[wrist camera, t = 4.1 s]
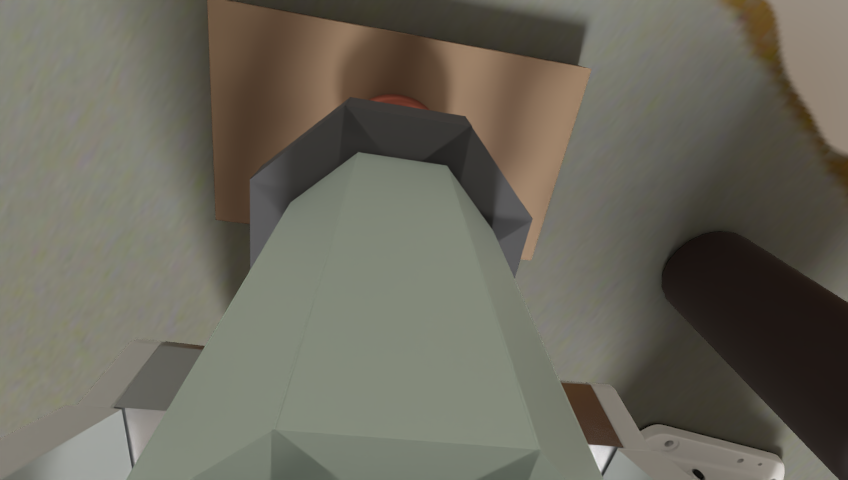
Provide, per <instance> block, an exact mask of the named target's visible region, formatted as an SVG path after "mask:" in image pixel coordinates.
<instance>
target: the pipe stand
mask: <svg viewBox="0 0 848 480" xmlns="http://www.w3.org/2000/svg"><path fill="white" fill-rule="evenodd" d="M207 7H208V33H209V59H210V84H211V110H212V136H213V162H214V187H215V213H216V220H222V221H229V222H237V223H245V224H250V178H251V177H252V176H253V175H254V174H255V173H256V172H257V171H258V170H259V169H260V168H261V166H262V165H263V164H265V163H266V162H268V161H269V160H270V159H272V158H273V157H274V156H275V155H277V154H278V153H279V152H281V151H282V150H283V149H284V148H286V147H287V146H288V145H289V144H291V143H292V142H293V141H295V140H296V139H297V138H298V137H300V136H301V135H302V134H304V133H305V132H306V131H307V130H309V129H310V128H311V127H313V126H314V125H315V124H316V123H318V122H319V121H320V120H322V119H323V118H324V117H325V116H327V115H328V114H329V113H331V112H332V111H333V110H334V109H336V108H337V107H338V106H340V105H341V104H342V103H343V102H345V101H346V100H347V99H349V97H353V98H359V99H365V100H371V101H377V102H383V103H389V104H395V105H401V106H407V107H413V108H419V109H425V110H431V111H437V112H443V113H449V114H455V115H461V116H466V118H467V119H468V121H469V122H470V124H471V125H472V128H473V129H474V131H475V132H476V134H477V135H478V137H479V138H480V140H481V141H482V143H483V144H484V146H485V147H486V149H487V150H488V152H489V154H490V155H491V157H492V158H493V160H494V161H495V163H496V164H497V166H498V167H499V169H500V170H501V172H502V173H503V175H504V176H505V178H506V180H507V181H508V183H509V184H510V186H511V187H512V189H513V190H514V192H515V193H516V195H517V196H518V198H519V199H520V201H521V202H522V204H523V205H524V207H525V208H526V210H527V211H528V212H529V214H530V215H531V217H532V218H533V220H532V223H531V226H530V229H529V232H528V236H527V239H526V242H525V246H524V249H523V252H522V256H521V259H524V260H531V259H532V256H533V253H534V250H535V247H536V243H537V240H538V237H539V234H540V231H541V228H542V224H543V221H544V218H545V215H546V212H547V209H548V205H549V202H550V199H551V196H552V193H553V190H554V186H555V183H556V180H557V177H558V174H559V171H560V168H561V164H562V161H563V158H564V155H565V152H566V149H567V145H568V142H569V139H570V136H571V133H572V130H573V126H574V123H575V120H576V117H577V114H578V111H579V107H580V104H581V101H582V98H583V95H584V92H585V88H586V85H587V82H588V79H589V76H590V73H591V69H589V68H586V67H582V66H578V65H572V64H567V63H562V62H556V61H551V60H546V59H540V58H535V57H530V56H524V55H519V54H514V53H508V52H503V51H498V50H492V49H487V48H481V47H476V46H471V45H465V44H460V43H455V42H449V41H444V40H439V39H433V38H428V37H423V36H417V35H412V34H407V33H401V32H396V31H391V30H385V29H380V28H374V27H369V26H364V25H358V24H353V23H348V22H342V21H337V20H332V19H326V18H321V17H316V16H310V15H305V14H300V13H294V12H289V11H284V10H278V9H273V8H267V7H262V6H257V5H251V4H246V3H241V2H235V1H230V0H207Z"/></svg>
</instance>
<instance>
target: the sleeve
mask: <svg viewBox="0 0 848 480" xmlns="http://www.w3.org/2000/svg"><path fill="white" fill-rule="evenodd" d="M126 480H604V479H603V477H602V474H601V472H600V470H599V468H598V465H597V463H596V461H595V459H594V456H593V454H592V452H591V450H590V447H589V445H588V443H587V441H586V438H585V436H584V434H583V432H582V429H581V427H580V425H579V423H578V420H577V418H576V416H575V414H574V411H573V409H572V407H571V405H570V402H569V400H568V398H567V396H566V393H565V391H564V389H563V387H562V384H561V382H560V380H559V378H558V375H557V373H556V371H555V369H554V366H553V364H552V362H551V360H550V357H549V355H548V353H547V351H546V348H545V346H544V344H543V342H542V339H541V337H540V335H539V333H538V330H537V328H536V326H535V324H534V321H533V319H532V317H531V315H530V312H529V310H528V308H527V306H526V303H525V301H524V299H523V297H522V294H521V292H520V290H519V288H518V285H517V283H516V281H515V279H514V276H513V274H512V272H511V270H510V267H509V265H508V263H507V261H506V258H505V256H504V254H503V252H502V249H501V247H500V245H499V243H498V240H497V238H496V236H495V234H494V231H493V229H492V228H491V227H490V226H489V224H488V223H487V221H486V220H485V219H484V217H483V216H482V214H481V213H480V212H479V210H478V209H477V207H476V206H475V205H474V203H473V202H472V200H471V199H470V198H469V196H468V195H467V193H466V192H465V190H464V189H463V188H462V186H461V185H460V183H459V182H458V181H457V179H456V178H455V176H454V175H453V174H452V172H451V171H450V169H449V168H448V166H447V165H440V164H433V163H426V162H420V161H413V160H407V159H400V158H394V157H387V156H380V155H374V154H367V153H361V152H358V153H357V154H355V155H354V156H353V157H351V158H350V159H348V160H347V161H346V162H344V163H343V164H342V165H340V166H339V167H338V168H336V169H335V170H334V171H332V172H331V173H330V174H328V175H327V176H325V177H324V178H323V179H321V180H320V181H319V182H317V183H316V184H315V185H313V186H312V187H311V188H309V189H308V190H307V191H305V192H304V193H303V194H301V195H300V196H298V197H297V198H296V199H294V200H293V201H292V202H290V204H289V205H288V207H287V209H286V210H285V212H284V214H283V216H282V217H281V219H280V221H279V222H278V224H277V226H276V227H275V229H274V231H273V232H272V234H271V236H270V237H269V239H268V241H267V243H266V244H265V246H264V248H263V249H262V251H261V253H260V254H259V256H258V258H257V259H256V261H255V263H254V264H253V266H252V268H251V269H250V271H249V273H248V275H247V276H246V278H245V280H244V281H243V283H242V285H241V286H240V288H239V290H238V291H237V293H236V295H235V296H234V298H233V300H232V302H231V303H230V305H229V307H228V308H227V310H226V312H225V313H224V315H223V317H222V318H221V320H220V322H219V323H218V325H217V327H216V328H215V330H214V332H213V334H212V335H211V337H210V339H209V340H208V342H207V344H206V345H205V347H204V349H203V350H202V352H201V354H200V355H199V357H198V359H197V361H196V362H195V364H194V366H193V367H192V369H191V371H190V372H189V374H188V376H187V377H186V379H185V381H184V382H183V384H182V386H181V387H180V389H179V391H178V393H177V394H176V396H175V398H174V399H173V401H172V403H171V404H170V406H169V408H168V409H167V411H166V413H165V414H164V416H163V418H162V420H161V421H160V423H159V425H158V426H157V428H156V430H155V431H154V433H153V435H152V436H151V438H150V440H149V441H148V443H147V445H146V446H145V448H144V450H143V452H142V453H141V455H140V457H139V458H138V460H137V462H136V463H135V465H134V467H133V468H132V470H131V472H130V473H129V475H128V477H127V479H126Z"/></svg>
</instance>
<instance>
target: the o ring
mask: <svg viewBox="0 0 848 480" xmlns="http://www.w3.org/2000/svg"><path fill="white" fill-rule="evenodd" d="M358 152H361V153H367V154H374V155H380V156H387V157H394V158H400V159H407V160H413V161H420V162H426V163H433V164H440V165H447V166H448V168H449V169H450V171H451V172H452V174H453V175H454V176H455V178H456V179H457V181H458V182H459V183H460V185H461V186H462V188H463V189H464V190H465V192H466V193H467V195H468V196H469V198H470V199H471V200H472V202H473V203H474V205H475V206H476V207H477V209H478V210H479V212H480V213H481V214H482V216H483V217H484V219H485V220H486V221H487V223H488V224H489V226H490V227H491V228H492V229H493V231H494V234H495V236H496V238H497V240H498V243H499V245H500V247H501V249H502V252H503V254H504V256H505V258H506V261H507V263H508V265H509V267H510V270H511V272H512V274H513V276H514V279H515V275H516V272H517V269H518V265H519V262H520V259H521V256H522V252H523V249H524V246H525V242H526V239H527V236H528V232H529V229H530V226H531V223H532V220H533V218H532V217H531V215H530V214H529V212H528V211H527V210H526V208H525V207H524V205H523V204H522V202H521V201H520V199H519V198H518V196H517V195H516V193H515V192H514V190H513V189H512V187H511V186H510V184H509V183H508V181H507V180H506V178H505V176H504V175H503V173H502V172H501V170H500V169H499V167H498V166H497V164H496V163H495V161H494V160H493V158H492V157H491V155H490V154H489V152H488V150H487V149H486V147H485V146H484V144H483V143H482V141H481V140H480V138H479V137H478V135H477V134H476V132H475V131H474V129H473V128H472V125H471V124H470V122H469V121H468V119H467V118H466V116H461V115H455V114H449V113H443V112H437V111H431V110H425V109H419V108H413V107H407V106H401V105H395V104H389V103H383V102H377V101H371V100H365V99H359V98H353V97H349V99H347V100H346V101H345V102H343V103H342V104H341V105H340V106H338V107H337V108H336V109H334V110H333V111H332V112H331V113H329V114H328V115H327V116H325V117H324V118H323V119H322V120H320V121H319V122H318V123H316V124H315V125H314V126H313V127H311V128H310V129H309V130H307V131H306V132H305V133H304V134H302V135H301V136H300V137H298V138H297V139H296V140H295V141H293V142H292V143H291V144H289V145H288V146H287V147H286V148H284V149H283V150H282V151H281V152H279V153H278V154H277V155H275V156H274V157H273V158H272V159H270V160H269V161H268V162H266V163H265V164H263V165H262V166H261V168H260V169H259V170H258V171H257V172H256V173H255V174H254V175H253V176H252V177H251V178H250V269H251V268H252V266H253V264H254V263H255V261H256V259H257V258H258V256H259V254H260V253H261V251H262V249H263V248H264V246H265V244H266V243H267V241H268V239H269V237H270V236H271V234H272V232H273V231H274V229H275V227H276V226H277V224H278V222H279V221H280V219H281V217H282V216H283V214H284V212H285V210H286V209H287V207H288V205H289V204H290V202H292V201H293V200H294V199H296V198H297V197H298V196H300V195H301V194H303V193H304V192H305V191H307V190H308V189H309V188H311V187H312V186H313V185H315V184H316V183H317V182H319V181H320V180H321V179H323V178H324V177H325V176H327V175H328V174H330V173H331V172H332V171H334V170H335V169H336V168H338V167H339V166H340V165H342V164H343V163H344V162H346V161H347V160H348V159H350V158H351V157H353V156H354V155H355V154H357V153H358Z"/></svg>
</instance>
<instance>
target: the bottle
mask: <svg viewBox="0 0 848 480" xmlns="http://www.w3.org/2000/svg"><path fill="white" fill-rule="evenodd" d="M662 289H663V291H664V294H665V297H666V299H667V300H668V301H669V302H670V303H671V304H672V305H673V306H674V307H675V309H676V310H677V311H678V312H679V313H680V314H681V315H682V316H683V317H684V318H685V319H686V320H687V321H688V322H689V323H690V324H691V325H692V326H693V327H694V328H695V329H696V331H697V332H698V333H699V334H700V335H701V336H702V337H703V338H704V339H705V340H706V341H707V342H708V343H709V344H710V345H711V346H712V347H713V348H714V349H715V350H716V351H717V352H718V354H719V355H720V356H721V357H722V358H723V359H724V360H725V361H726V362H727V363H728V364H729V365H730V366H731V367H732V368H733V369H734V370H735V371H736V372H737V373H738V374H739V375H740V377H741V378H742V379H743V380H744V381H745V382H746V383H747V384H748V385H749V386H750V387H751V388H752V389H753V390H754V391H755V392H756V393H757V394H758V395H759V396H760V397H761V399H762V400H763V401H764V402H765V403H766V404H767V405H768V406H769V407H770V408H771V409H772V410H773V411H774V412H775V413H776V414H777V415H778V416H779V417H780V418H781V419H782V420H783V422H784V423H785V424H786V425H787V426H788V427H789V428H790V429H791V430H792V431H793V432H794V433H795V434H796V435H797V436H798V437H799V438H800V439H801V440H802V441H803V442H804V443H805V445H806V446H807V447H808V448H809V449H810V450H811V451H812V452H813V453H814V454H815V455H816V456H817V457H818V458H819V459H820V460H821V461H822V462H823V463H824V464H825V465H826V467H827V468H828V469H829V470H830V471H831V472H832V473H833V474H834V475H835V476H836V477H837V478H838V479H839V480H848V302H846V301H845V300H843V299H841V298H840V297H838V296H837V295H835V294H833V293H832V292H830V291H829V290H827V289H826V288H824V287H822V286H821V285H819V284H818V283H816V282H814V281H813V280H811V279H810V278H808V277H807V276H805V275H803V274H802V273H800V272H799V271H797V270H795V269H794V268H792V267H791V266H789V265H788V264H786V263H784V262H783V261H781V260H780V259H778V258H776V257H775V256H773V255H772V254H770V253H769V252H767V251H765V250H764V249H762V248H761V247H759V246H757V245H756V244H754V243H753V242H751V241H749V240H748V239H746V238H744V237H742V236H740V235H738V234H736V233H731V232H721V231H718V232H713V233H708V234H703V235H701V236H699V237H697V238H695V239H692V240H690V241H689V242H687V243H686V244H685V245H684V246H682V247H681V248H680V249H678V250H677V251H676V252H675V254H674V255H673V256H672V257H671V259H670V260H669V261H668V263H667V265H666V267H665V270H664V272H663V275H662Z"/></svg>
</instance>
